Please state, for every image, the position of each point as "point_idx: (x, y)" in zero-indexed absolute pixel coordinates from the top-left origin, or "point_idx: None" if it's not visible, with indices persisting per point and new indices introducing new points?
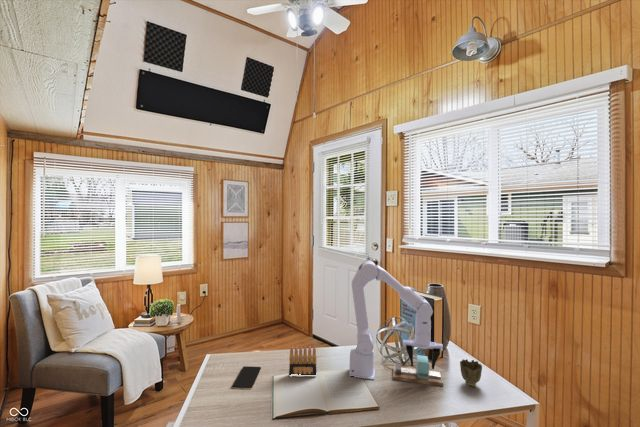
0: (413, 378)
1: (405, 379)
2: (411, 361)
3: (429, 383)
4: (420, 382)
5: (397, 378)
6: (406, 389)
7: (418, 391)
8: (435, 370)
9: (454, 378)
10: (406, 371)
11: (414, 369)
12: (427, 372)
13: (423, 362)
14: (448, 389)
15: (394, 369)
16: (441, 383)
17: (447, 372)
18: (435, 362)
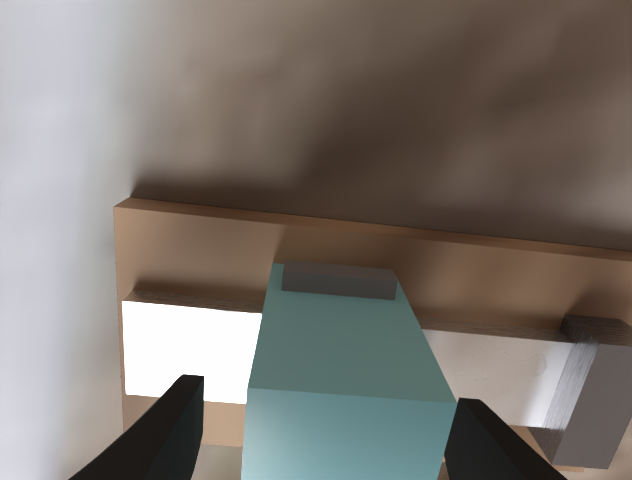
0: (447, 253)
1: (529, 244)
2: (522, 446)
3: (273, 214)
4: (368, 224)
5: (610, 255)
6: (563, 64)
7: (432, 39)
8: None
9: (2, 361)
10: (507, 356)
11: None
12: (283, 299)
13: (349, 401)
14: (78, 140)
15: None
16: (137, 206)
17: (63, 449)
18: (116, 440)
